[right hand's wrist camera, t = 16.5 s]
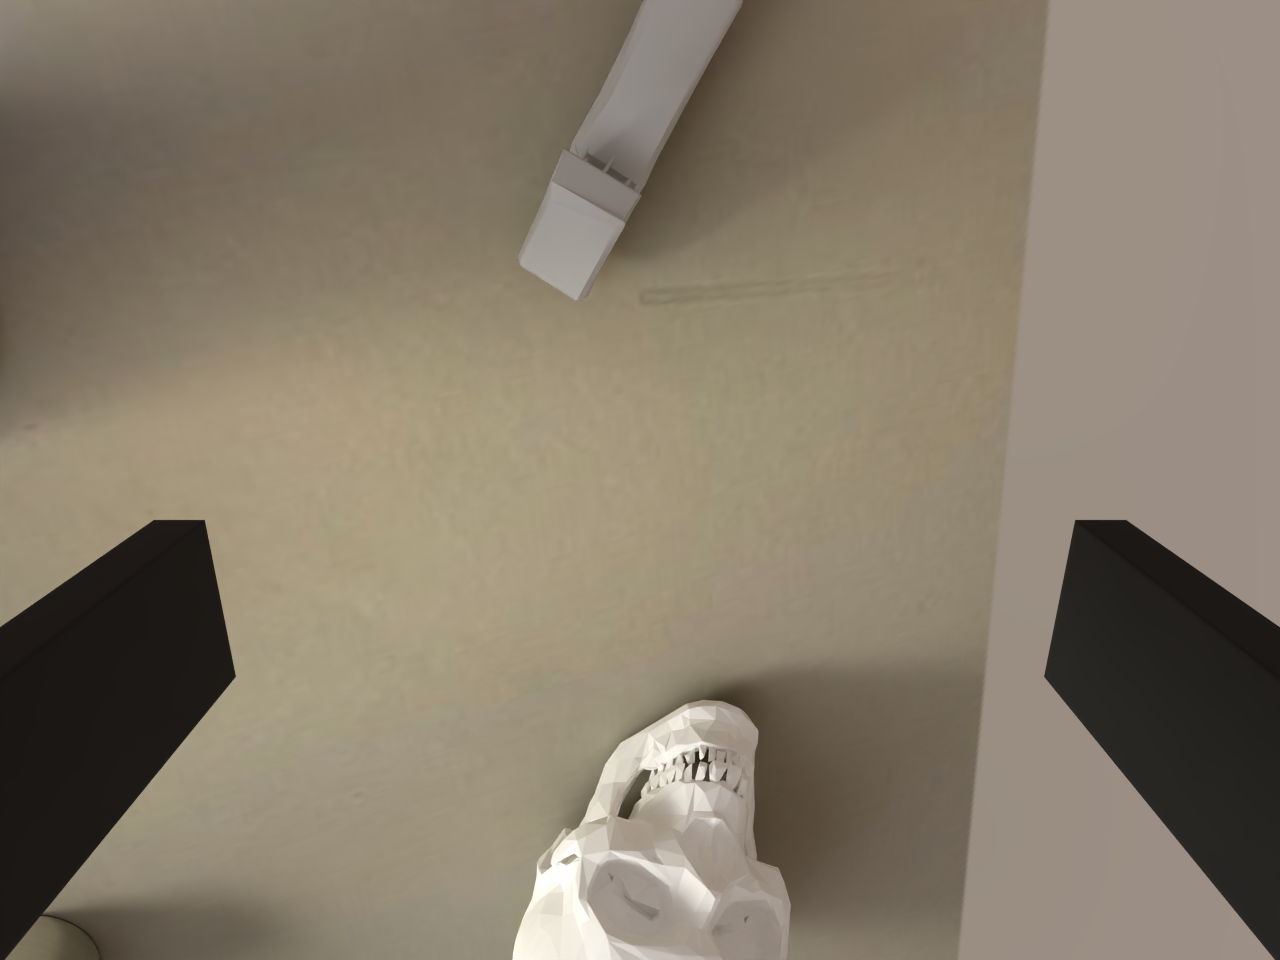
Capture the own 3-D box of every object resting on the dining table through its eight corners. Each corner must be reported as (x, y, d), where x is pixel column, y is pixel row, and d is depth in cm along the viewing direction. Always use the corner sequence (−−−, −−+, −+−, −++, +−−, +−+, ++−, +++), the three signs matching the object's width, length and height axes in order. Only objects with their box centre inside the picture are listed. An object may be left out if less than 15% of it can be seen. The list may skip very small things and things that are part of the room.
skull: (823, 710, 48) (892, 943, 33) (699, 969, 55) (711, 1257, 40) (607, 646, 47) (579, 857, 32) (510, 918, 54) (451, 1194, 40)
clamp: (584, 303, 40) (583, 312, 33) (515, 264, 39) (500, 266, 32) (803, -107, 36) (850, -189, 29) (729, -159, 35) (761, -255, 28)
